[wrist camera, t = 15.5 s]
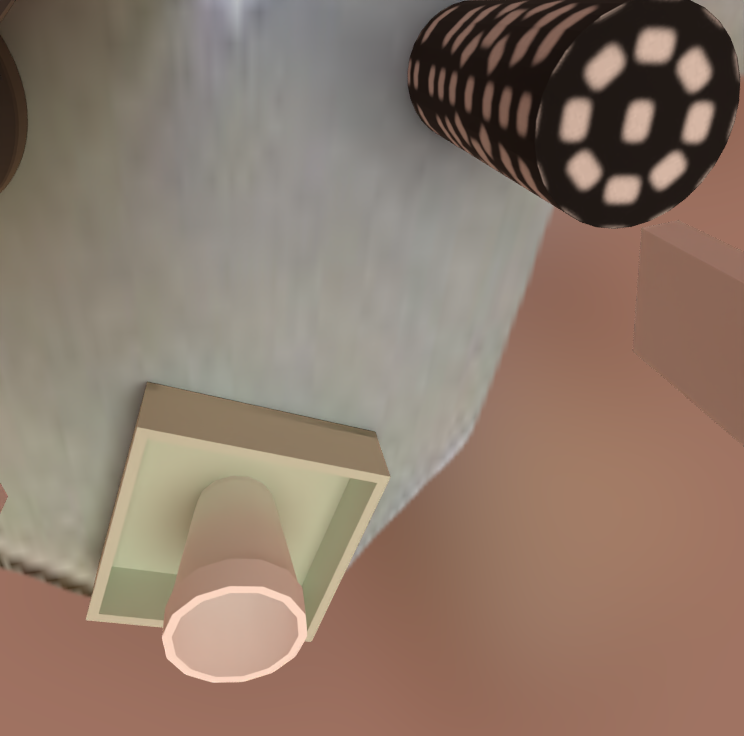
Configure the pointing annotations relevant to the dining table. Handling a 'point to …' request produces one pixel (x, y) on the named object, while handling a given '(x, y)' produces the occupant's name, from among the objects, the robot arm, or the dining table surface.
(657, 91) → the spotted tube
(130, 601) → the bin
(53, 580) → the dining table surface
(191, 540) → the foam cup
